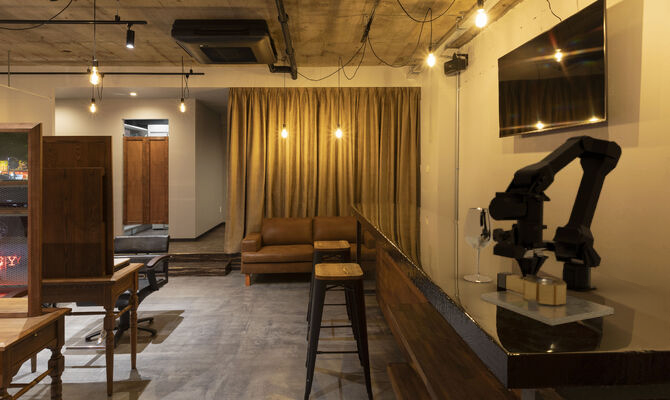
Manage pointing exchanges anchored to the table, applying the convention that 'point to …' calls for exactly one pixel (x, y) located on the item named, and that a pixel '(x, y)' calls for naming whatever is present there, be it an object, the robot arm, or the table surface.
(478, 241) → the wineglass
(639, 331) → the table surface
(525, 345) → the table surface
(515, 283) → the octagonal ring with handle
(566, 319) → the post base
